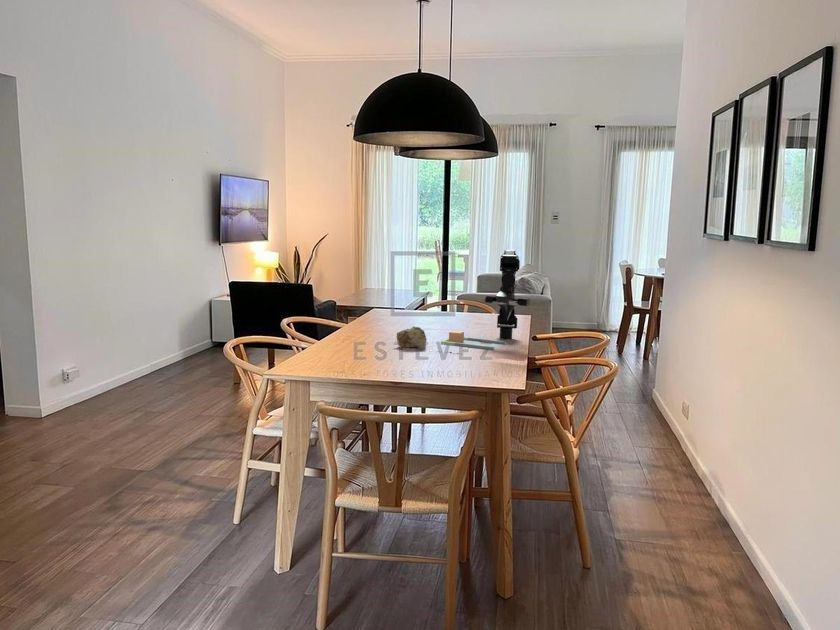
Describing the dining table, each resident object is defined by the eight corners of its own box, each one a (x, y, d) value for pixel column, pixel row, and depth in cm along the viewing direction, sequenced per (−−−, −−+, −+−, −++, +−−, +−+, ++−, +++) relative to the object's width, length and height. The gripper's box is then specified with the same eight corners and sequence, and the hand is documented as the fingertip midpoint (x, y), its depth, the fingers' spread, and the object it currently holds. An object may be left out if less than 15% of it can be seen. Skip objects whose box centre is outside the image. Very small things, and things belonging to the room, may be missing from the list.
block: (453, 340, 277) (453, 330, 276) (463, 341, 275) (464, 331, 274) (448, 342, 272) (449, 332, 272) (459, 343, 270) (459, 333, 270)
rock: (430, 343, 270) (423, 322, 268) (427, 348, 264) (420, 326, 262) (404, 350, 274) (397, 329, 272) (401, 355, 268) (393, 333, 266)
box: (454, 341, 283) (454, 335, 282) (505, 347, 272) (505, 341, 272) (440, 347, 270) (440, 341, 269) (493, 353, 259) (493, 347, 259)
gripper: (481, 284, 265) (479, 320, 267) (523, 287, 257) (521, 324, 259) (490, 282, 275) (488, 317, 277) (531, 285, 267) (529, 321, 269)
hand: (506, 320), depth 270 cm, fingers closed
